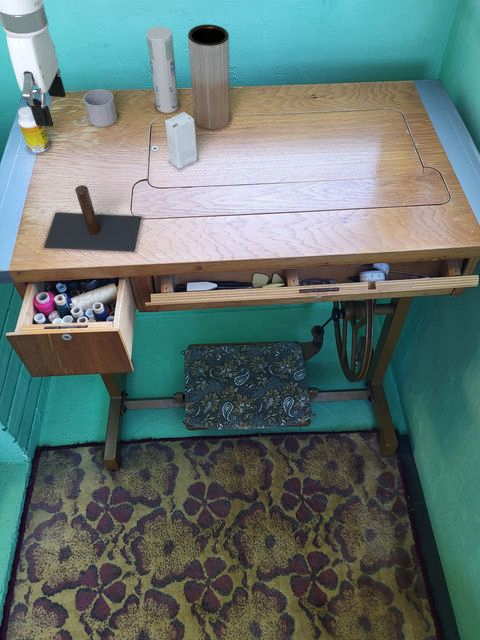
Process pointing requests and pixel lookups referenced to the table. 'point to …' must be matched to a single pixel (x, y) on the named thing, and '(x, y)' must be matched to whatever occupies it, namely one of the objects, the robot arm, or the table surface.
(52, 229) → the felt mat
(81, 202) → the walnut stick
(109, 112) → the tin
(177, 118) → the cosmetic box
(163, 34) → the spray can
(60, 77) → the robot arm
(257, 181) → the table surface
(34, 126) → the supplement bottle
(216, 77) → the planter
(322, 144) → the table surface
